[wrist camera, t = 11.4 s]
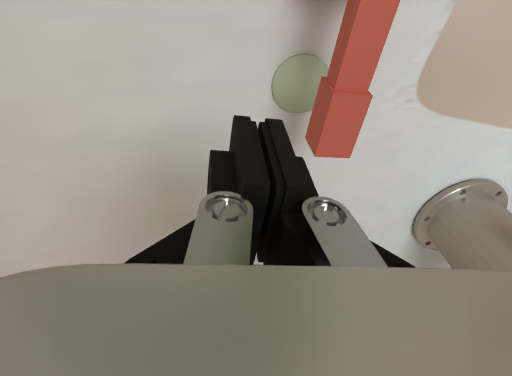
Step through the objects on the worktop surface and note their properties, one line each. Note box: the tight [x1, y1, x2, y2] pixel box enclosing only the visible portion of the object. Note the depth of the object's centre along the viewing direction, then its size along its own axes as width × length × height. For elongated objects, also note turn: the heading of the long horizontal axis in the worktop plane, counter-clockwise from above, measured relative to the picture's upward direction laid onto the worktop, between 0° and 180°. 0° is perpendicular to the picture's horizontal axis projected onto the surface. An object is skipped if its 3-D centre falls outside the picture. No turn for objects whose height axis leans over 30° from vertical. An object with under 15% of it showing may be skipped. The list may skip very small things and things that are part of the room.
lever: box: [305, 0, 400, 158], centre depth 21 cm, size 18×4×3 cm, turn 172°
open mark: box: [272, 54, 329, 113], centre depth 33 cm, size 6×6×1 cm
